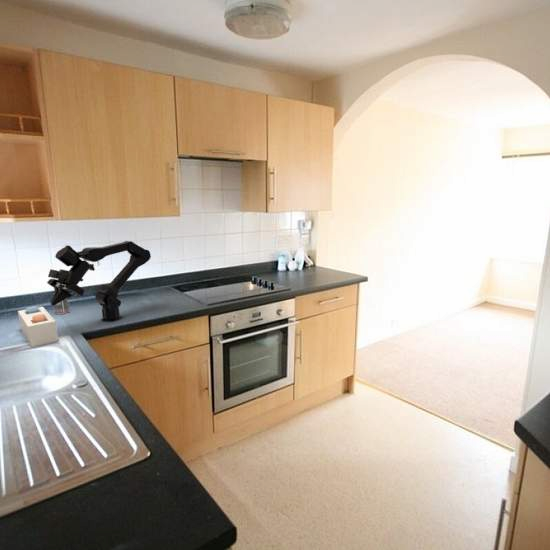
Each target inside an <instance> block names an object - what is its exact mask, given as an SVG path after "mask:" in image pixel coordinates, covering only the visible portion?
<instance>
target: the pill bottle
mask: <svg viewBox="0 0 550 550" xmlns="http://www.w3.org/2000/svg"><path fill="white" fill-rule="evenodd" d="M54 311H55V314H56V315H64V313H65V314H67V313H69V312H70V309H69V302H68V298H67V299H65V300H63V301H61V302H59V303H58V304H56V305H54Z"/></svg>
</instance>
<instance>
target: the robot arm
mask: <svg viewBox="0 0 550 550" xmlns="http://www.w3.org/2000/svg"><path fill="white" fill-rule="evenodd" d="M124 252H127V253H128V254H129V255H130V257H129V261H128V262H127V263H126V264H125V266H123V268H122V269H121V271H119V272H118V274H117V275H116V276H115V277H114V278H113V279H112V281H110V283H108V284H107V285H106V284H101V286H100V288H99V289H97V290H96V293H95V301H96V302H97V303H98V304H99V306H101V313H102V314H101V315H102V318H101V321H104V322H105V321H107V322H115V321H117V320H118V319H121V318H122V317H123V315H120V307H121V305H122V300H120V299H118V295H119V291H120V289H122V287H123V286H124V285H125V283H126V282H128V280H129V279H130V278H131V276H132V275H134V273H135V272H136V270H137V269H138V268H139V267H141V266H143V265H145V264H146V263H147V262H149V261H150V260H151V258H152V255H151V252H150V250H149V249H145V248H144V247H142V246H140V245H138V244H137V243H135V242H133V241H130V240H125V241H121V242H117V243H114V244H109V245H106V246H98V247H97V246H95V247H94V246H93V247H84V248H82V250H80V251H76V250H74V249H73V247H72V246H71V245H65V246H64V247H62V248H60V250H58V251H57V252H56V253H55V259H57V260H58V261H59V262H61V263H62V264H63V265H65V266H66V267H71V268H70V269H69V270H66V269H61V268H60V269H59V270H56V269H50V270H49V271H48V276H47V277H48V278H50V279H48V280H47V281H46V284H48V285H49V286H51V288H53V291H54V293H53V296H52V298H51V301H50V305H51V306H54V305H56V304H58V303H59V302H61V301H63V300H65V299H67V300H68V299H69V298H71V297H74V295H73V294H74V293H75V294H76V296H77V297H83V295H84V294H85V290H84V288H82V287H80V285H78V284H79V283H80V282H83V281H84V276H86V274H87V273H88V271H95V270H96V269H95V265H94V264H93V263H96V262H99V261H101V260H104V258H106V257H108V256H111V255H116V254H120V253H124ZM90 262H92V263H90ZM54 307H55V306H54Z"/></svg>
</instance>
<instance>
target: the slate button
mask: <svg viewBox="0 0 550 550" xmlns="http://www.w3.org/2000/svg"><path fill="white" fill-rule="evenodd" d="M38 307H39V306H38V305H32V306H28V307H26V308H25V310H26V313H27V314H31V313H37V312H39V308H38Z"/></svg>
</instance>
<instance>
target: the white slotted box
mask: <svg viewBox="0 0 550 550" xmlns="http://www.w3.org/2000/svg"><path fill="white" fill-rule="evenodd" d="M38 308H39V312H37V313H31V314H27V313H26V309H22V310H17V313H18V320H19V325H20V330H21V332H22V333H23V335H24V337H25V339H26V340H27V342H28V344H29V346H30V347H31V348H34V347H37V346H41V345H47V344H50V343H51V344H52V343H56V342H59V335H58V329H57V321H56V320H55V318H54V317H53V316H52V315H50V313H49V312H48V310H47V309H45V307H43V306H38ZM40 314H44V315H45V316H46V321H43V322H38V323H33V320H32V317H33V316H35V315H40Z"/></svg>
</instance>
